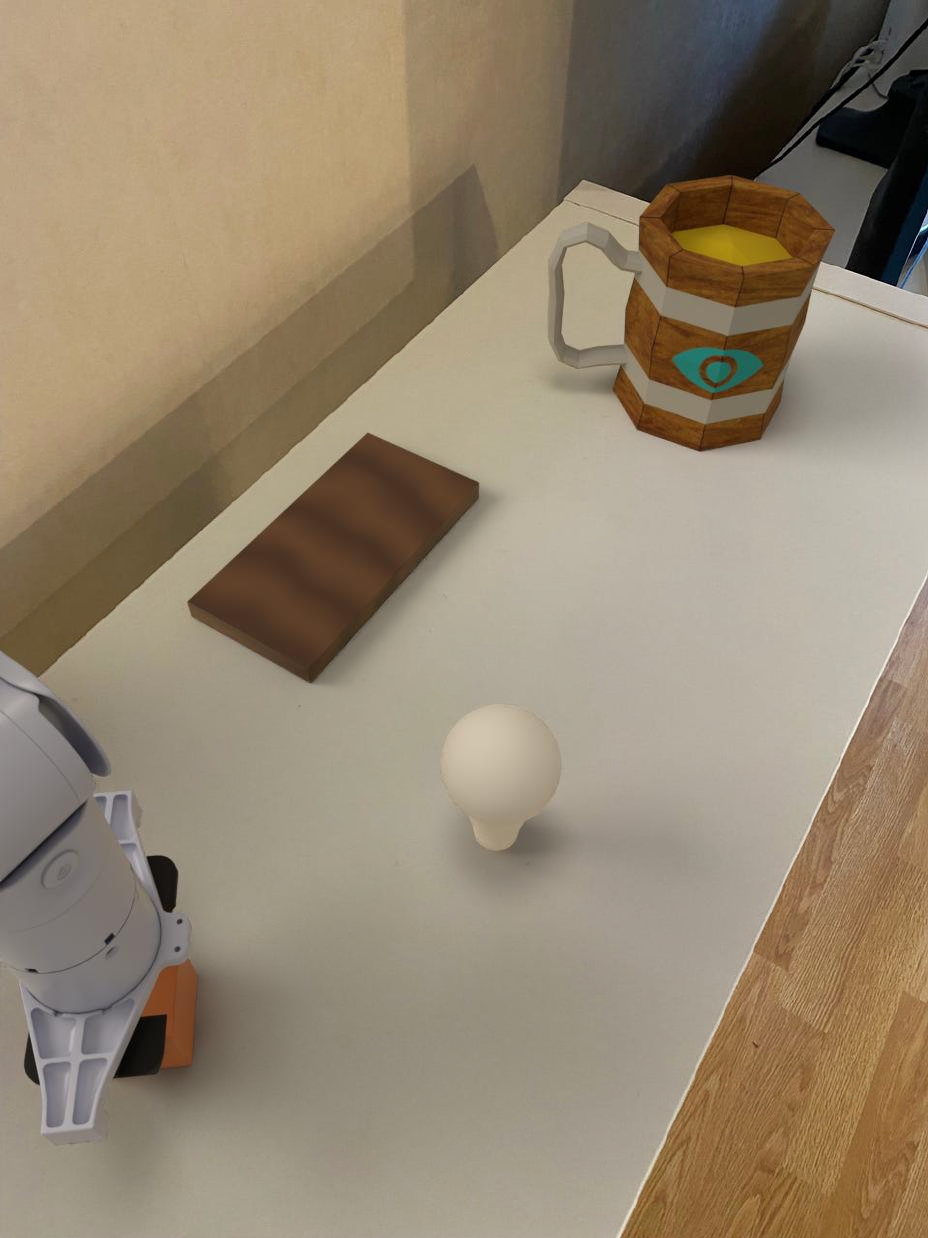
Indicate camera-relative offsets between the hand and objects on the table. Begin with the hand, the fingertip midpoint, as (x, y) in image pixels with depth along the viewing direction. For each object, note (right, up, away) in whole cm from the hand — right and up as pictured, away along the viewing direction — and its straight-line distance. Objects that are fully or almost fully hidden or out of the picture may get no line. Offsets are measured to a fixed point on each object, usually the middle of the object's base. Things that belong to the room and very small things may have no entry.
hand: (142, 1015), depth 50 cm
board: (+7, +24, +21) cm, 33 cm away
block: (0, -1, +1) cm, 1 cm away
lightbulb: (+18, +7, +8) cm, 20 cm away
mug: (+32, +38, +33) cm, 59 cm away
